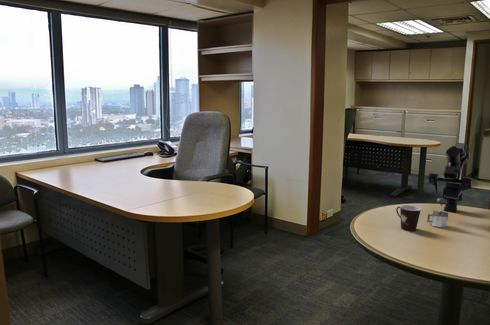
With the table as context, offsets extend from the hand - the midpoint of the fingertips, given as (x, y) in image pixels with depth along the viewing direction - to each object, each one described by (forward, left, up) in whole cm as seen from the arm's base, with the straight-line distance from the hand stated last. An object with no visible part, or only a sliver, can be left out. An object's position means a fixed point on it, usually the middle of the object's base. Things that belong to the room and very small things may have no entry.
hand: (446, 195), depth 190 cm
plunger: (+7, -2, -9) cm, 11 cm away
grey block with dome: (+7, -2, -13) cm, 15 cm away
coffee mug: (+18, -15, -14) cm, 27 cm away
